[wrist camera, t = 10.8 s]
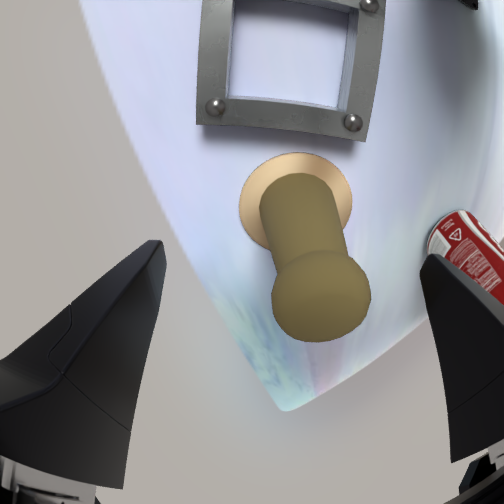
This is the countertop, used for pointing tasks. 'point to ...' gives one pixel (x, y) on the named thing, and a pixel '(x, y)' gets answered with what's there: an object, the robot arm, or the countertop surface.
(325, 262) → the pepper shaker
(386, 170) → the countertop surface
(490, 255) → the soda can
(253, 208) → the cork coaster
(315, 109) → the grey square frame
